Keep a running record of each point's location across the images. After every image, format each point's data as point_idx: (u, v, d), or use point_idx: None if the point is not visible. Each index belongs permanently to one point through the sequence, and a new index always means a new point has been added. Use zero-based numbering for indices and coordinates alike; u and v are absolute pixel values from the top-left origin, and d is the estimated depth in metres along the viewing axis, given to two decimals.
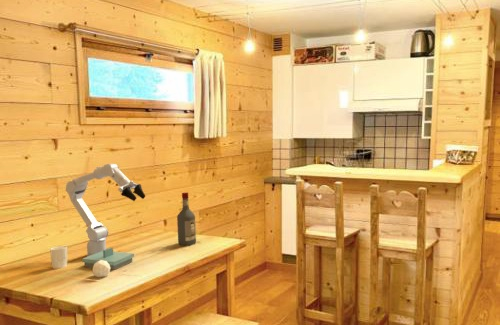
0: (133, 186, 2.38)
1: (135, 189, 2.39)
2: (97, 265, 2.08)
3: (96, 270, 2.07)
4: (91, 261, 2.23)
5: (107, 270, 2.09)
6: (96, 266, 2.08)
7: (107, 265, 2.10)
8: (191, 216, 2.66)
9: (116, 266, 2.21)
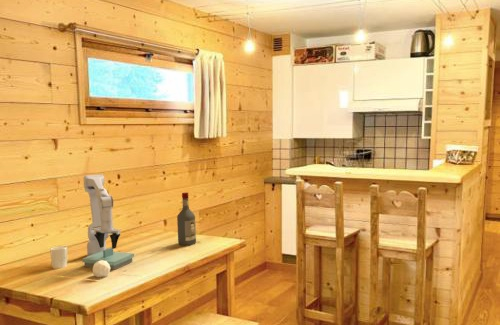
0: (111, 232, 2.26)
1: None
2: (97, 265, 2.08)
3: (96, 270, 2.07)
4: (91, 261, 2.23)
5: (107, 270, 2.09)
6: (96, 266, 2.08)
7: (107, 265, 2.10)
8: (191, 216, 2.66)
9: (116, 266, 2.21)
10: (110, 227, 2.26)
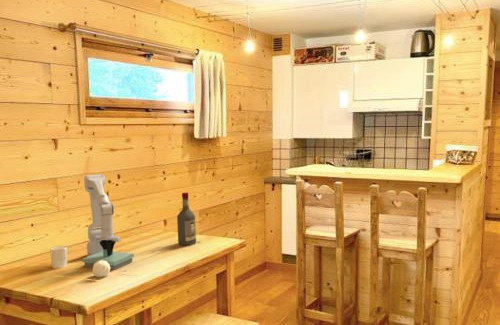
0: None
1: None
2: (97, 265, 2.08)
3: (96, 270, 2.07)
4: (91, 261, 2.23)
5: (107, 270, 2.09)
6: (96, 266, 2.08)
7: (107, 265, 2.10)
8: (191, 216, 2.66)
9: (116, 266, 2.21)
10: (110, 234, 2.26)
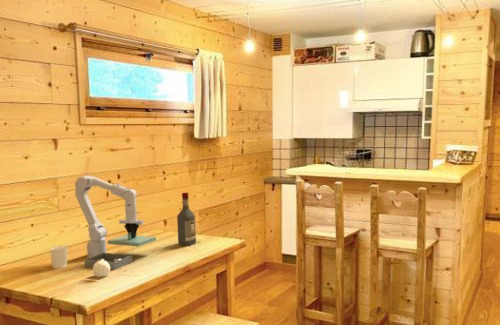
0: (135, 223, 2.42)
1: None
2: (97, 265, 2.08)
3: (96, 270, 2.07)
4: (116, 243, 2.38)
5: (107, 270, 2.09)
6: (96, 266, 2.08)
7: (107, 265, 2.10)
8: (191, 216, 2.66)
9: (116, 266, 2.21)
10: (134, 218, 2.42)
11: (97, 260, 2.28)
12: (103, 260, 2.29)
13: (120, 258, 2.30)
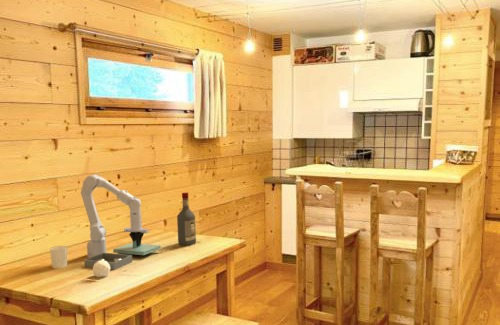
0: (140, 231, 2.45)
1: None
2: (97, 265, 2.08)
3: (96, 270, 2.07)
4: (122, 251, 2.42)
5: (107, 270, 2.09)
6: (96, 266, 2.08)
7: (107, 265, 2.10)
8: (191, 216, 2.66)
9: (116, 266, 2.21)
10: (139, 227, 2.45)
11: (97, 260, 2.28)
12: (103, 260, 2.29)
13: (120, 258, 2.30)
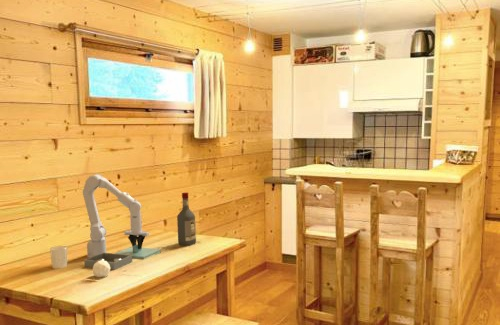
0: None
1: None
2: (97, 265, 2.08)
3: (96, 270, 2.07)
4: None
5: (107, 270, 2.09)
6: (96, 266, 2.08)
7: (107, 265, 2.10)
8: (191, 216, 2.66)
9: (116, 266, 2.21)
10: (139, 230, 2.45)
11: (97, 260, 2.28)
12: (103, 260, 2.29)
13: (120, 258, 2.30)
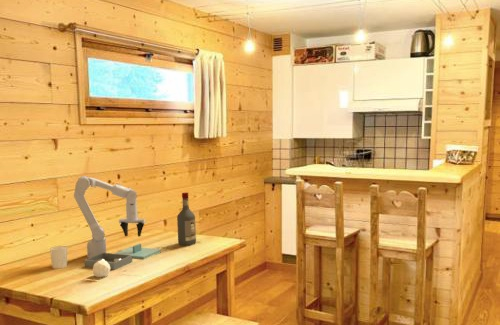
0: (136, 221, 2.50)
1: None
2: (97, 265, 2.08)
3: (96, 270, 2.07)
4: None
5: (107, 270, 2.09)
6: (96, 266, 2.08)
7: (107, 265, 2.10)
8: (191, 216, 2.66)
9: (116, 266, 2.21)
10: (136, 217, 2.50)
11: (97, 260, 2.28)
12: (103, 260, 2.29)
13: (120, 258, 2.30)
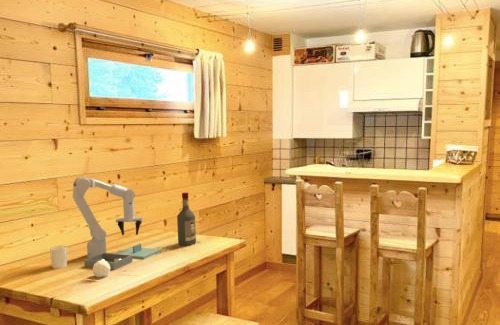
0: (134, 220, 2.54)
1: None
2: (97, 265, 2.08)
3: (96, 270, 2.07)
4: None
5: (107, 270, 2.09)
6: (96, 266, 2.08)
7: (107, 265, 2.10)
8: (191, 216, 2.66)
9: (116, 266, 2.21)
10: (133, 216, 2.54)
11: (97, 260, 2.28)
12: (103, 260, 2.29)
13: (120, 258, 2.31)
